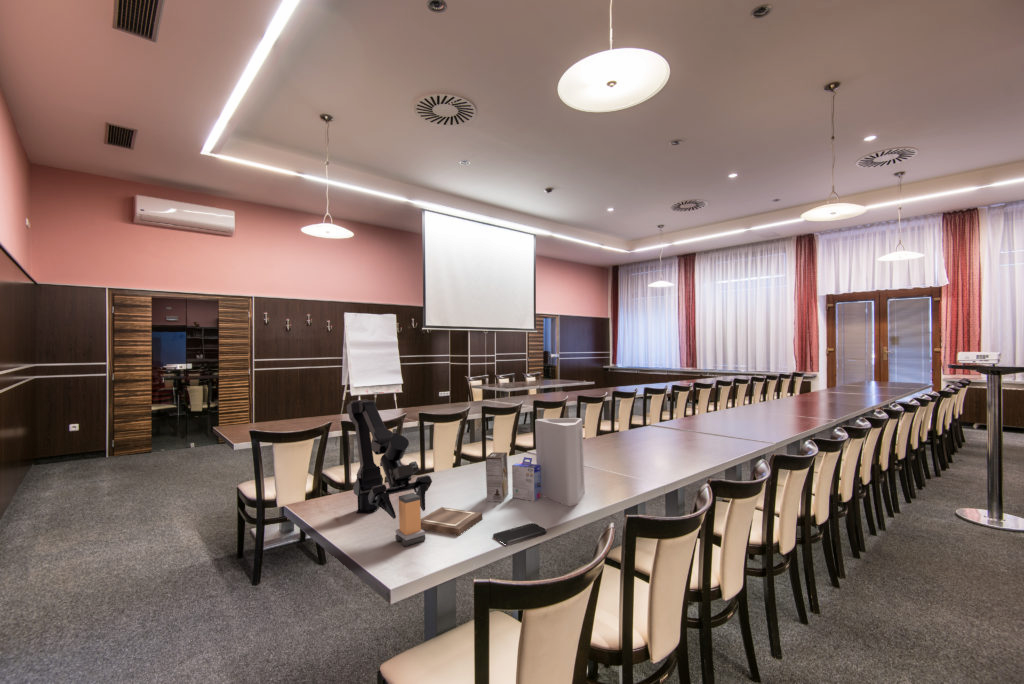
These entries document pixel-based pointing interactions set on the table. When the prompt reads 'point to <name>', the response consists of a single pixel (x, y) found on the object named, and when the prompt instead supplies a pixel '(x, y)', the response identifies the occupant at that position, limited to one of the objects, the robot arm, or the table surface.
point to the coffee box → (497, 476)
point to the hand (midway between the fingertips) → (409, 514)
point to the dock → (450, 520)
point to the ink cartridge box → (526, 480)
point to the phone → (520, 533)
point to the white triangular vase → (561, 459)
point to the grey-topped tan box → (409, 520)
